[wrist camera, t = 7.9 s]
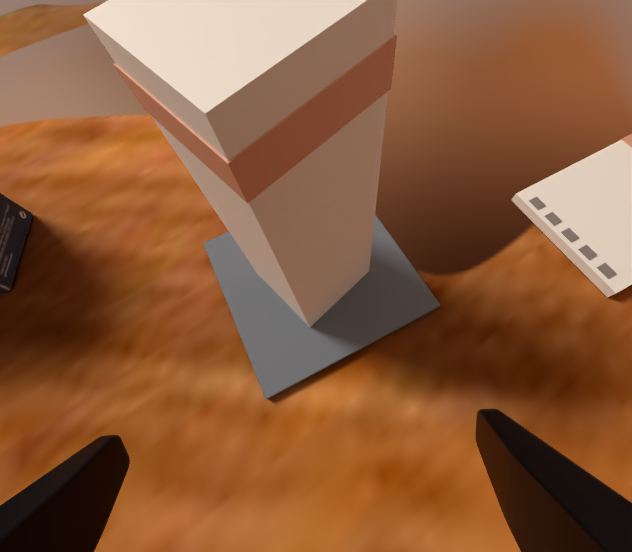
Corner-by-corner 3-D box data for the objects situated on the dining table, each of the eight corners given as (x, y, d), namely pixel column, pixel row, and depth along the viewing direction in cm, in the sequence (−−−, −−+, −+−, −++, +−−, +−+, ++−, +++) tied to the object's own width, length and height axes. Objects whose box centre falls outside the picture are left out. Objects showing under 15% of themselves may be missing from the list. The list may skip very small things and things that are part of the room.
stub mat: (438, 307, 17) (440, 305, 17) (267, 399, 16) (265, 398, 16) (346, 179, 21) (346, 174, 21) (206, 246, 20) (203, 243, 20)
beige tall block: (370, 270, 18) (403, -23, 6) (309, 328, 17) (204, 116, 5) (313, 223, 19) (250, -82, 8) (255, 273, 18) (80, 15, 7)
